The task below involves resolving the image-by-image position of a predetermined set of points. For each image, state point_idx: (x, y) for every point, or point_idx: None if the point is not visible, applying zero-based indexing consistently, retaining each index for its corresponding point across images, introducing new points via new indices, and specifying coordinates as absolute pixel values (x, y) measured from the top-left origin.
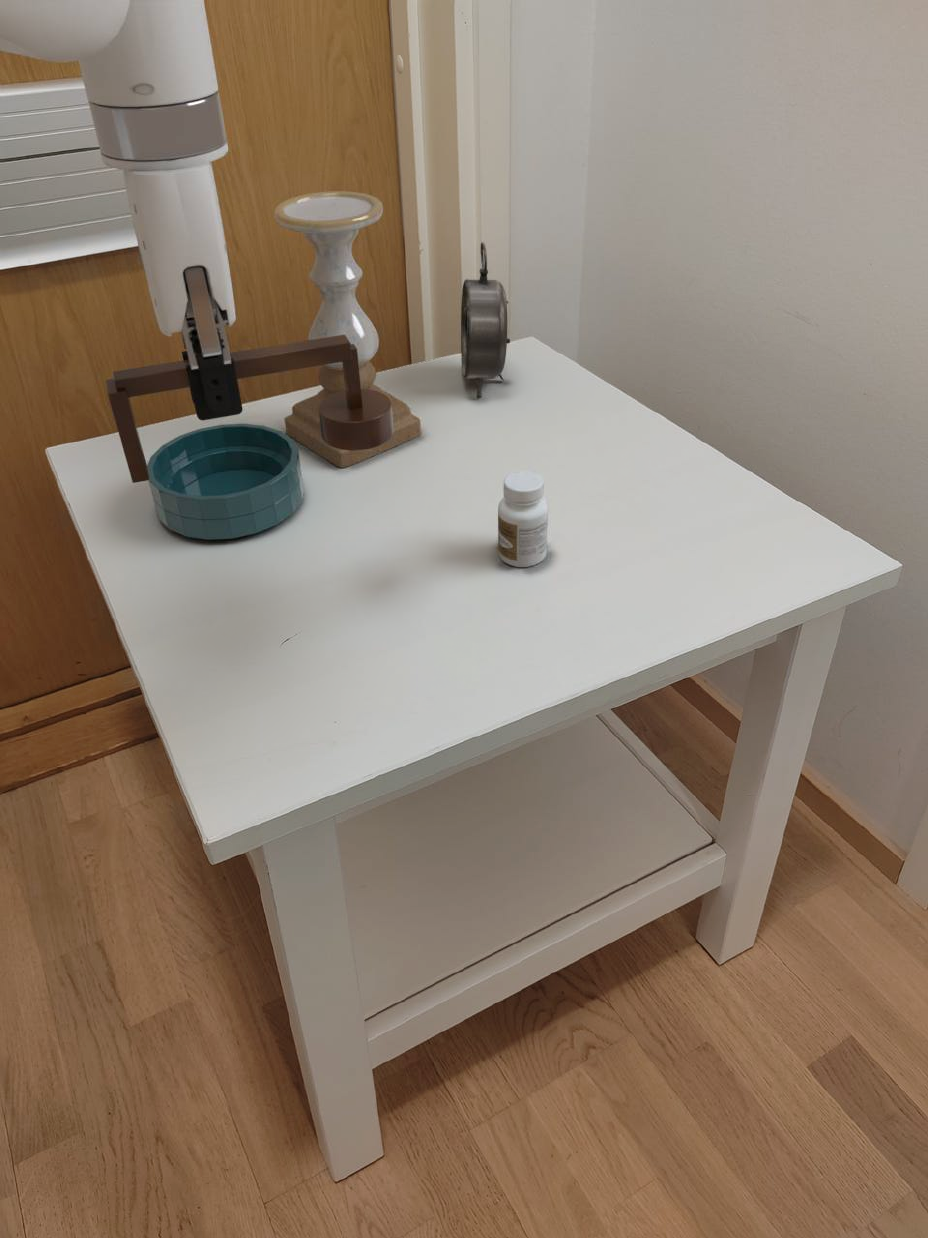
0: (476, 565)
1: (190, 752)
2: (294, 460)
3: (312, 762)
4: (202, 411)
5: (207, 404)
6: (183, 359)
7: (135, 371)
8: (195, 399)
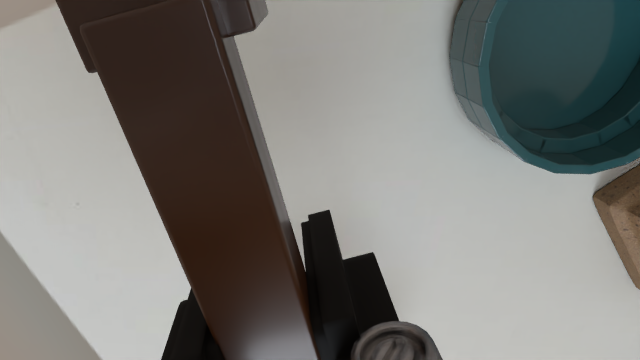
0: None
1: (10, 43)
2: (559, 171)
3: (12, 183)
4: None
5: (178, 309)
6: (325, 305)
7: (193, 126)
8: None
